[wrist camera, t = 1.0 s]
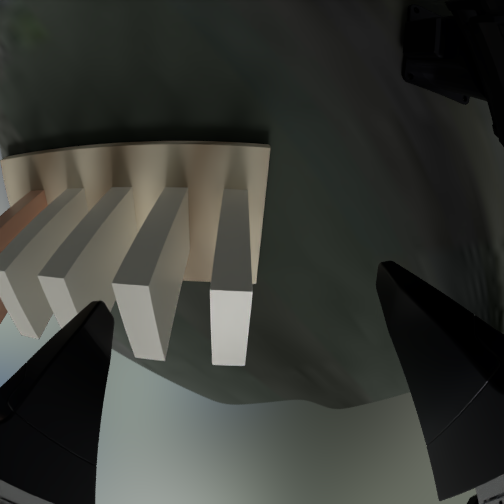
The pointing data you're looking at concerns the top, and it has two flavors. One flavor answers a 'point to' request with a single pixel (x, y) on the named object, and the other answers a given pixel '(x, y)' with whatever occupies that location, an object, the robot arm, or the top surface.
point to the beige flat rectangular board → (155, 183)
